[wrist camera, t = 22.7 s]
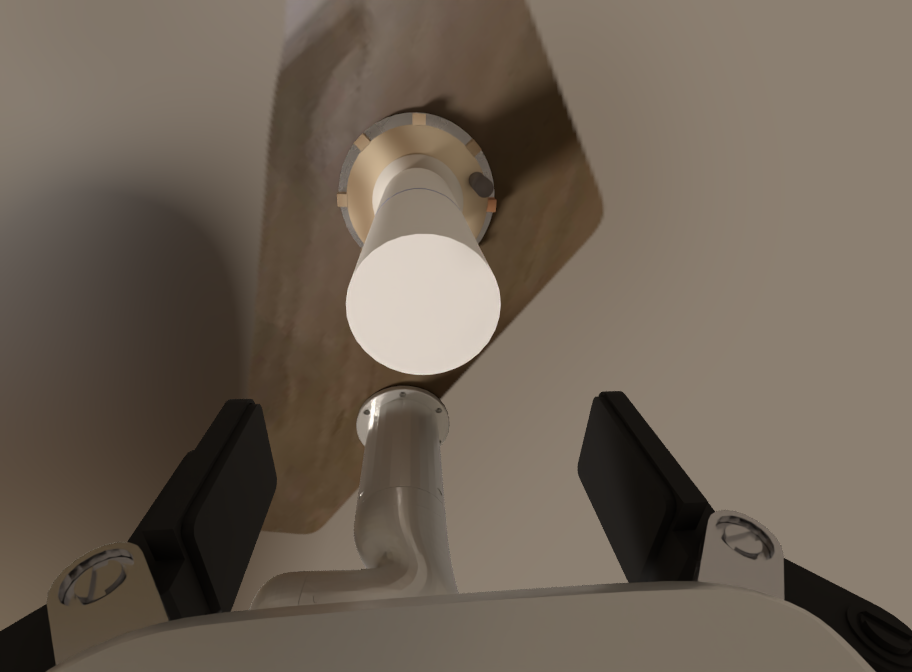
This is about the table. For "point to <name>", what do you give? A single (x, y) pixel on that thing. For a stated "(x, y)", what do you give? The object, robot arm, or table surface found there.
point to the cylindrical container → (421, 281)
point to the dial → (416, 150)
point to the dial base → (400, 121)
